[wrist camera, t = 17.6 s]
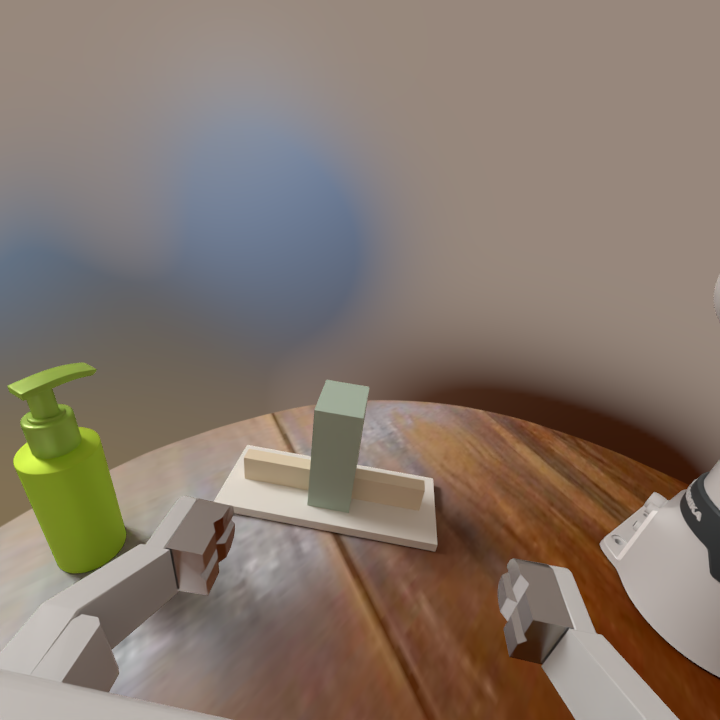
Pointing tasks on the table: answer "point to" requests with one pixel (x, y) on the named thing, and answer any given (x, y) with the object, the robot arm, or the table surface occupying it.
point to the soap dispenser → (67, 475)
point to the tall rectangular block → (336, 444)
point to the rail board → (365, 518)
